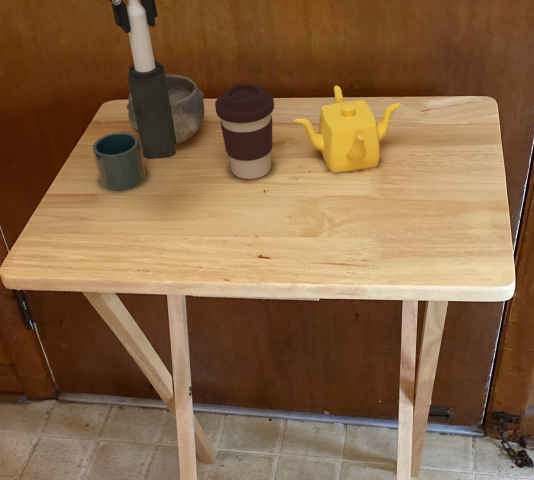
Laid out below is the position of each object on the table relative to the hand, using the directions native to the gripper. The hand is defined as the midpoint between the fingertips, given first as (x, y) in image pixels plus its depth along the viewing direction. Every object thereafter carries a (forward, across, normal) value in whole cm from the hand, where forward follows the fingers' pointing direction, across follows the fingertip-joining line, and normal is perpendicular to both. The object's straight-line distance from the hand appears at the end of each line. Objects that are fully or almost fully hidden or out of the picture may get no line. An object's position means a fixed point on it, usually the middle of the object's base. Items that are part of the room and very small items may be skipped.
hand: (137, 25), depth 113 cm
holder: (+34, +3, -18) cm, 39 cm away
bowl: (+34, -10, -28) cm, 45 cm away
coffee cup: (+34, -18, -9) cm, 39 cm away
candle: (+20, 0, 0) cm, 20 cm away
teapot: (+34, -35, -4) cm, 49 cm away
